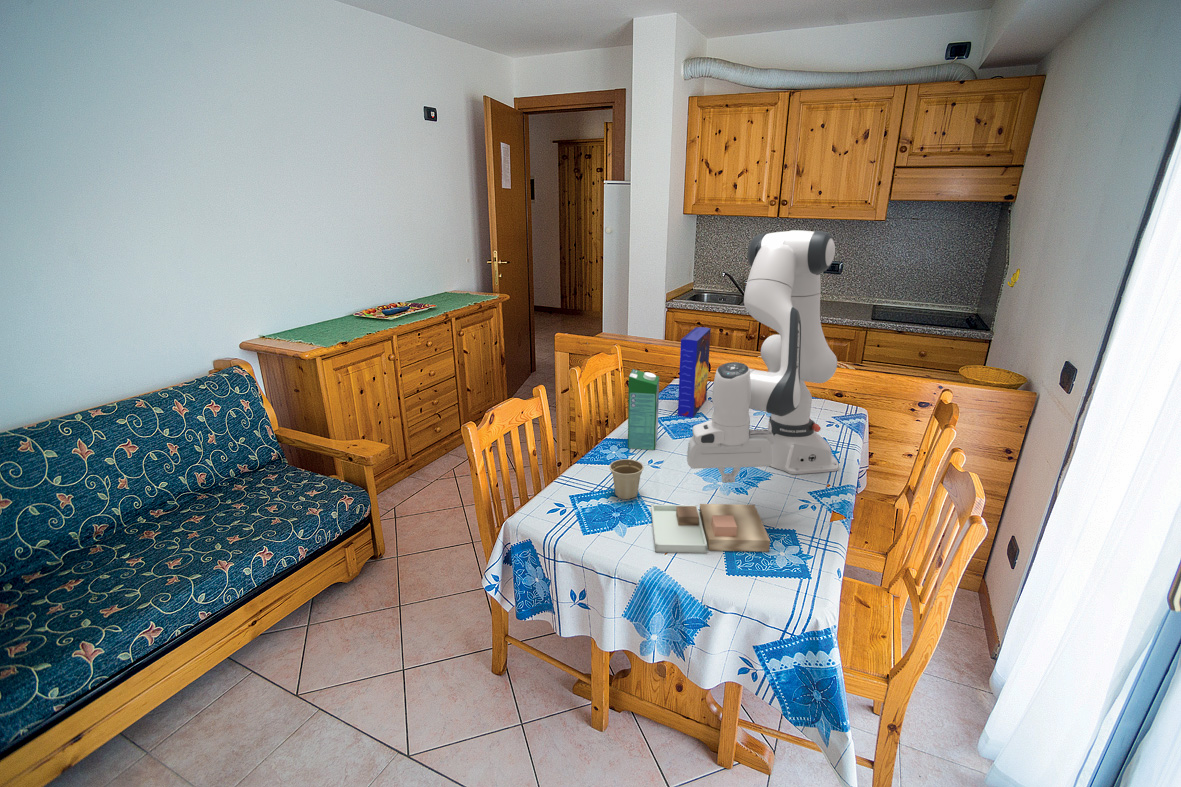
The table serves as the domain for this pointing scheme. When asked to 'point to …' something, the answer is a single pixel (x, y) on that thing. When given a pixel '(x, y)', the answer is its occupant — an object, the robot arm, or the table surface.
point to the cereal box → (693, 371)
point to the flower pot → (626, 477)
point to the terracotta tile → (724, 525)
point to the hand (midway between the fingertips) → (728, 481)
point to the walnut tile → (687, 515)
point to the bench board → (748, 528)
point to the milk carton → (643, 410)
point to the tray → (676, 532)
